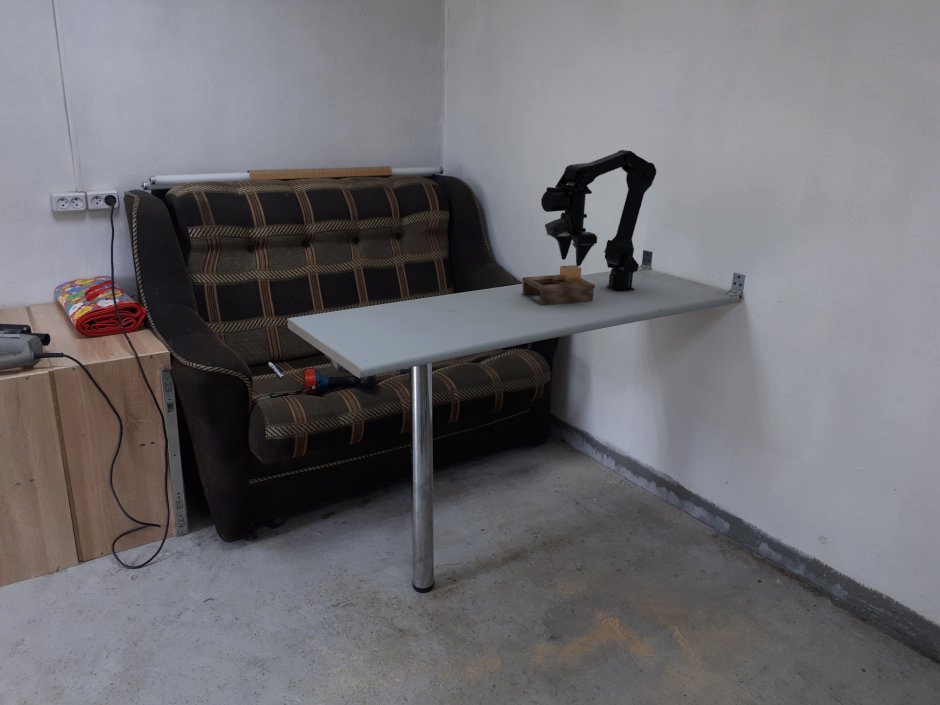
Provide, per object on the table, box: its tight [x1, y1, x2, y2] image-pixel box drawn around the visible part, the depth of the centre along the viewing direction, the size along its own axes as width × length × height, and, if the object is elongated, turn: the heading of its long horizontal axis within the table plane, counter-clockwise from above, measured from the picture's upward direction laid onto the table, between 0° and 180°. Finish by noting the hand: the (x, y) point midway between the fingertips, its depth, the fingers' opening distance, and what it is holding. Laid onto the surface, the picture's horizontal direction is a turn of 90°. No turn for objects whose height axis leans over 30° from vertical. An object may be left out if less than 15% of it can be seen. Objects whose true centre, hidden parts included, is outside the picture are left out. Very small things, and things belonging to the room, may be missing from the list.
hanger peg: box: [559, 264, 582, 282], centre depth 215 cm, size 5×5×8 cm
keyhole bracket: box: [521, 274, 596, 306], centre depth 215 cm, size 17×14×5 cm
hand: (570, 262), depth 213 cm, fingers open, 9 cm apart
